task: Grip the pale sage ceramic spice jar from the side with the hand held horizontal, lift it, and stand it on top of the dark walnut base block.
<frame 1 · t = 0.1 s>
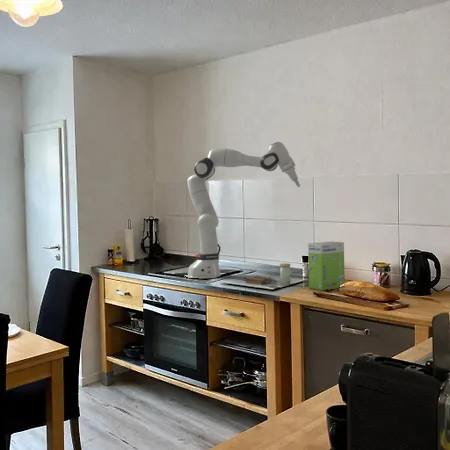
hand: (299, 186, 308), 54 cm above the worktop, tool tilted 30°, fingers open, 8 cm apart
moka pot: (211, 270, 342), on the worktop
spice jar: (285, 285, 284), on the worktop
walnut base: (258, 282, 294), on the worktop
toothbrush box: (326, 288, 273), on the worktop
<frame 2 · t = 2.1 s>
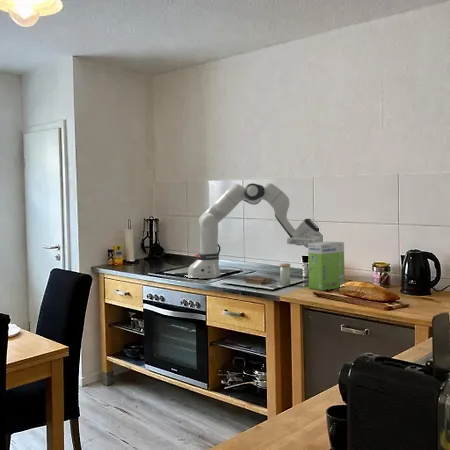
hand: (296, 242, 292), 22 cm above the worktop, tool horizontal, fingers open, 8 cm apart
nothing on the worktop moved.
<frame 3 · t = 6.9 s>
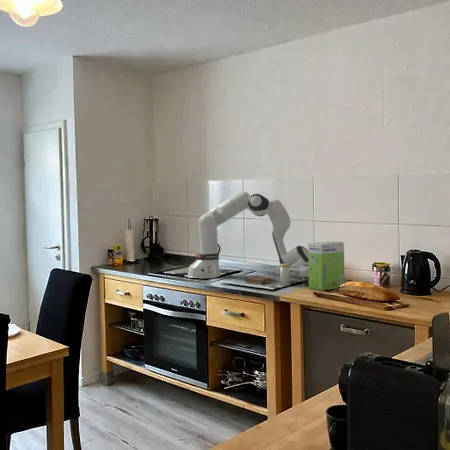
hand: (284, 273, 283), 7 cm above the worktop, tool horizontal, fingers closed on spice jar, 5 cm apart
spice jar: (285, 284, 284), on the worktop, touching gripper
everything else where it was.
when the fingers open (10 cm above the worktop, at t = 13.8 s): spice jar drops 1 cm, resting on walnut base.
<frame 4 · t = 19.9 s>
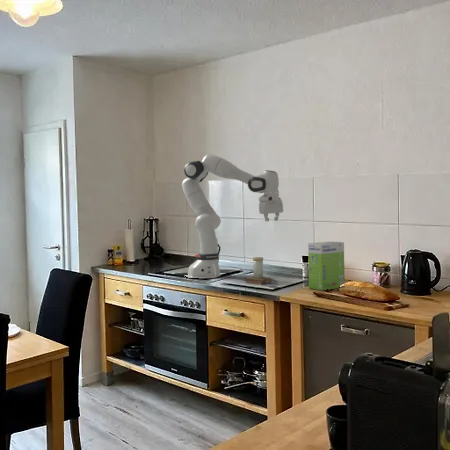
hand: (271, 221, 307), 34 cm above the worktop, tool pointing down, fingers open, 8 cm apart
spice jar: (258, 278, 294), point 3 cm above the worktop, touching walnut base
everything else where it was.
at the end: spice jar inside the target area on the walnut base (0.0 cm from its centre), point 2.5 cm above the walnut base's base; spice jar tilted 1°; the gripper is holding nothing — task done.
